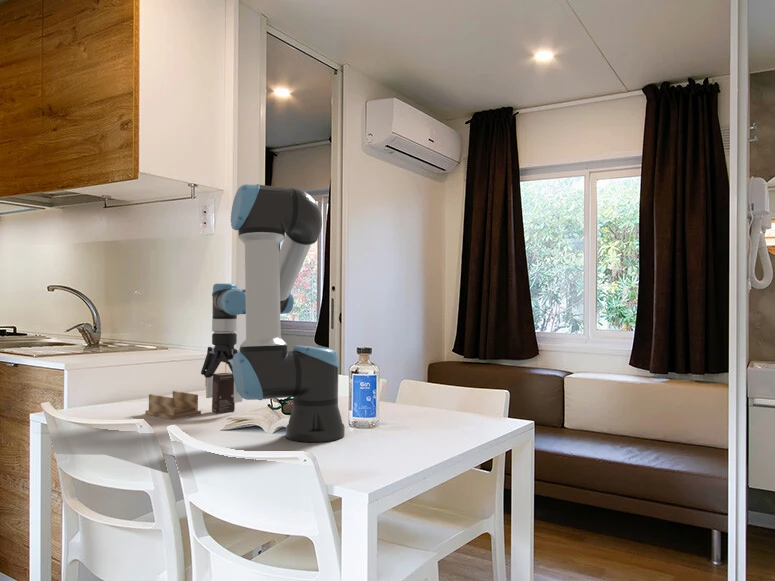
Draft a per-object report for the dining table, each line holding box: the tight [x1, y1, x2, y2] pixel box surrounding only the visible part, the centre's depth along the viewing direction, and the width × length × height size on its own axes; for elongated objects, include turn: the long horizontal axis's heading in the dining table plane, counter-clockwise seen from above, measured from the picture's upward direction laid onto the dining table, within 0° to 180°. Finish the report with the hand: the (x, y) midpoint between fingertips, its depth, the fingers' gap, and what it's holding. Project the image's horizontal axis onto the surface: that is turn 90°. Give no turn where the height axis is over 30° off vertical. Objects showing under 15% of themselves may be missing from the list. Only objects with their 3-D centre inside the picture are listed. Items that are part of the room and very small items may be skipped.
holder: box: [145, 390, 202, 420], centre depth 184 cm, size 14×10×6 cm
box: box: [211, 372, 236, 414], centre depth 188 cm, size 6×4×12 cm
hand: (223, 399), depth 188 cm, fingers open, 13 cm apart
